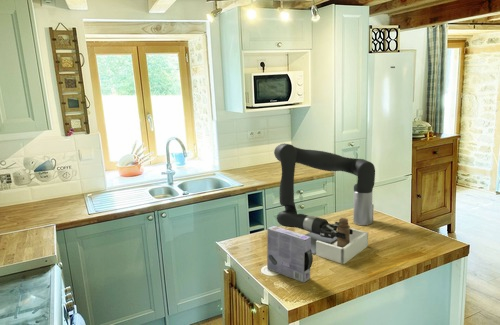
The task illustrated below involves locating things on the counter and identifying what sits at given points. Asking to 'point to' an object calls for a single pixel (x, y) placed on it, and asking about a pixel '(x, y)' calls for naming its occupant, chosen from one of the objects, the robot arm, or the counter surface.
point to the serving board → (317, 237)
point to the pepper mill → (345, 229)
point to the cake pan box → (289, 253)
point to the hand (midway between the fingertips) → (348, 234)
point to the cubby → (346, 253)
